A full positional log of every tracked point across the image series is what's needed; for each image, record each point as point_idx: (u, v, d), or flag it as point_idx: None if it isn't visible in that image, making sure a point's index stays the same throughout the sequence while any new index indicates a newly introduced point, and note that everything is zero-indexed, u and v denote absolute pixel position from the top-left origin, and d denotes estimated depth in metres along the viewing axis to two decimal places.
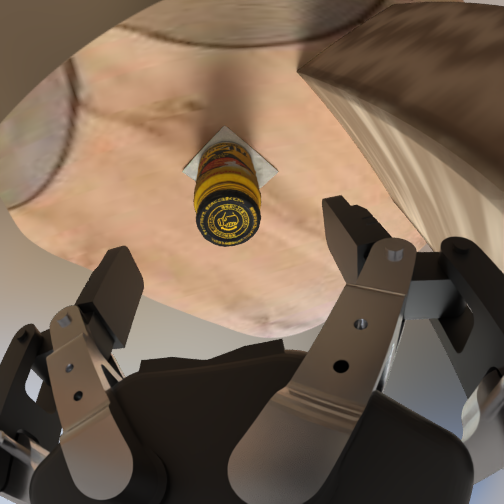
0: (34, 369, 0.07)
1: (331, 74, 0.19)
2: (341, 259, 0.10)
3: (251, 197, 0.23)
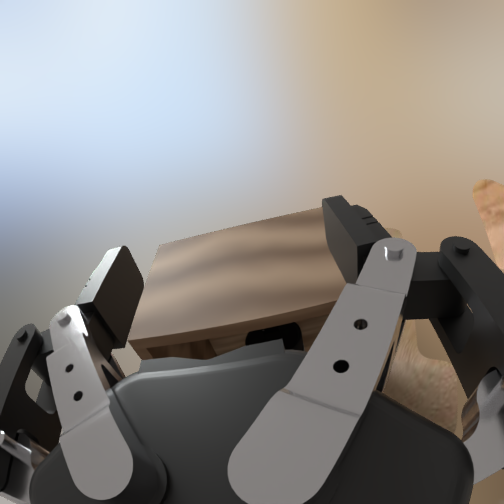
0: (34, 369, 0.07)
1: None
2: (341, 259, 0.10)
3: None
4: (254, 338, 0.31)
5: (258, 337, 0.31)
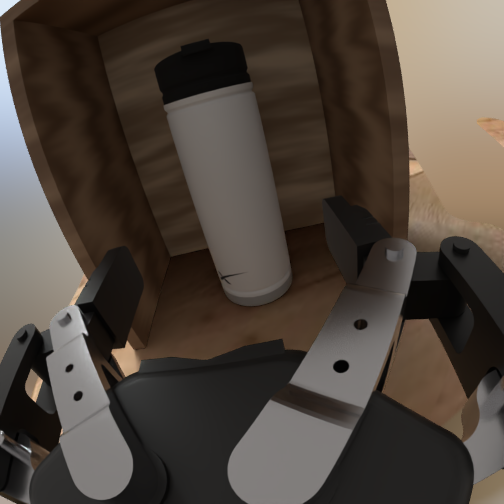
0: (34, 369, 0.07)
1: None
2: (341, 259, 0.10)
3: None
4: None
5: None
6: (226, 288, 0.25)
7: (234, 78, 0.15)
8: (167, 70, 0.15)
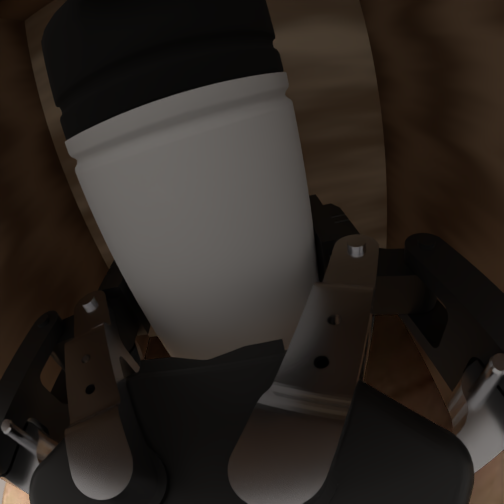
0: (55, 357, 0.07)
1: None
2: None
3: None
4: None
5: None
6: None
7: (241, 55, 0.05)
8: (52, 51, 0.04)
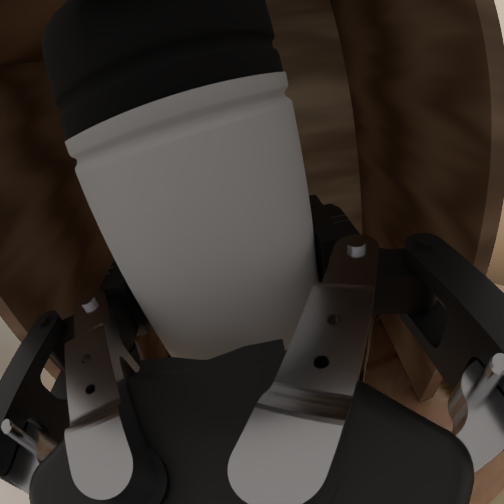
0: (55, 357, 0.07)
1: None
2: None
3: None
4: None
5: None
6: None
7: (240, 55, 0.05)
8: (52, 52, 0.04)
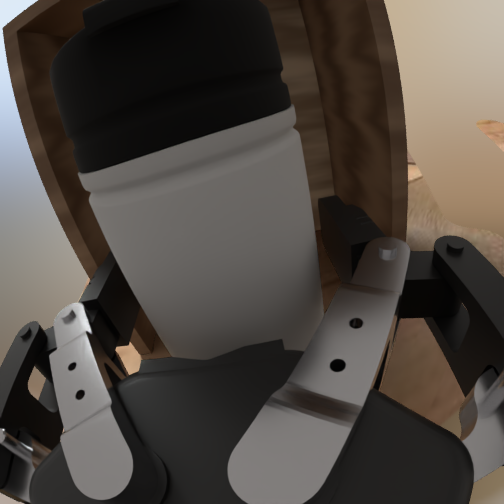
0: (38, 367, 0.07)
1: None
2: (336, 258, 0.10)
3: None
4: None
5: None
6: None
7: (253, 98, 0.05)
8: (63, 86, 0.04)
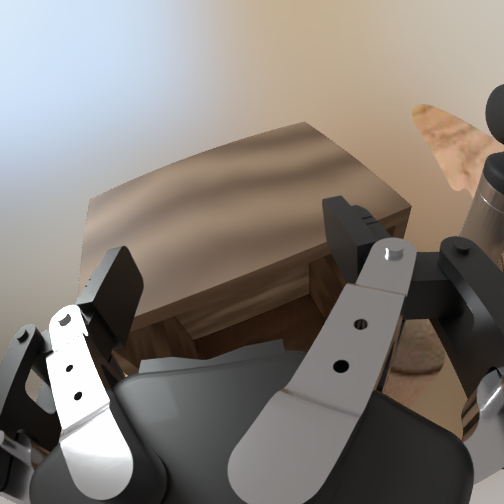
0: (34, 369, 0.07)
1: None
2: (341, 259, 0.10)
3: None
4: None
5: None
6: None
7: None
8: None
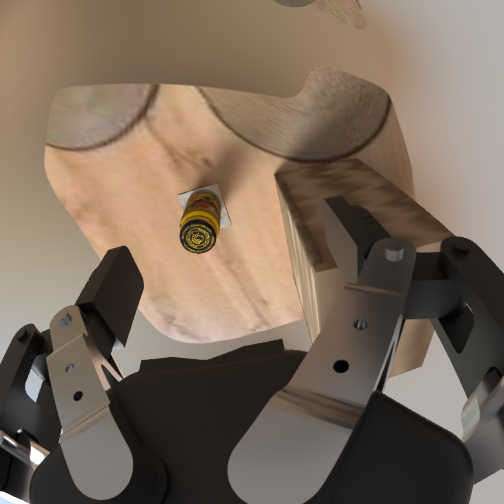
0: (34, 369, 0.07)
1: (288, 190, 0.41)
2: (341, 259, 0.10)
3: (215, 232, 0.42)
4: None
5: None
6: None
7: None
8: None
